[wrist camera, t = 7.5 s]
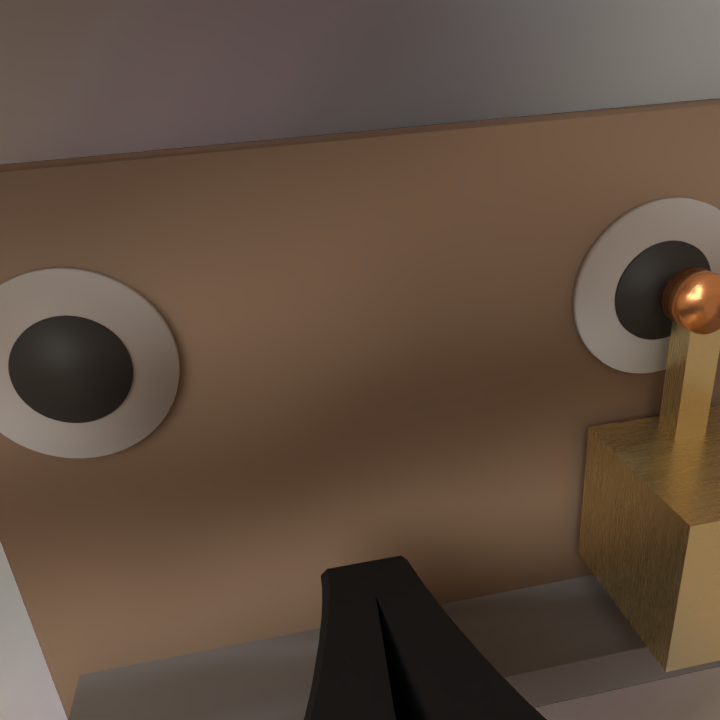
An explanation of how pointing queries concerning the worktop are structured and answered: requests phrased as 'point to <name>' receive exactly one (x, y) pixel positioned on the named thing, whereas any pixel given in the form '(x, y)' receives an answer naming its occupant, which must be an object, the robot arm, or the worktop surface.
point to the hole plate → (333, 393)
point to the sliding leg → (664, 492)
